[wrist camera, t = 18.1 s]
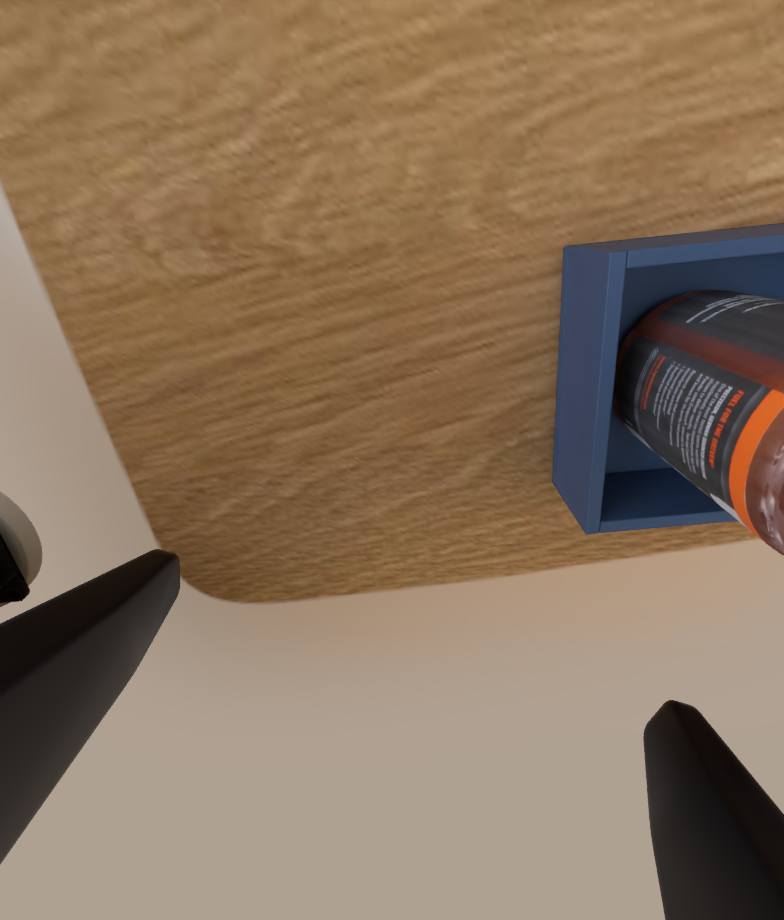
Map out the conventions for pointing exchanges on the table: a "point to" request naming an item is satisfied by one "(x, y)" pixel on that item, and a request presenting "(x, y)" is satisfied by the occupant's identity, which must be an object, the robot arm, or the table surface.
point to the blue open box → (594, 362)
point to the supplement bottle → (712, 399)
